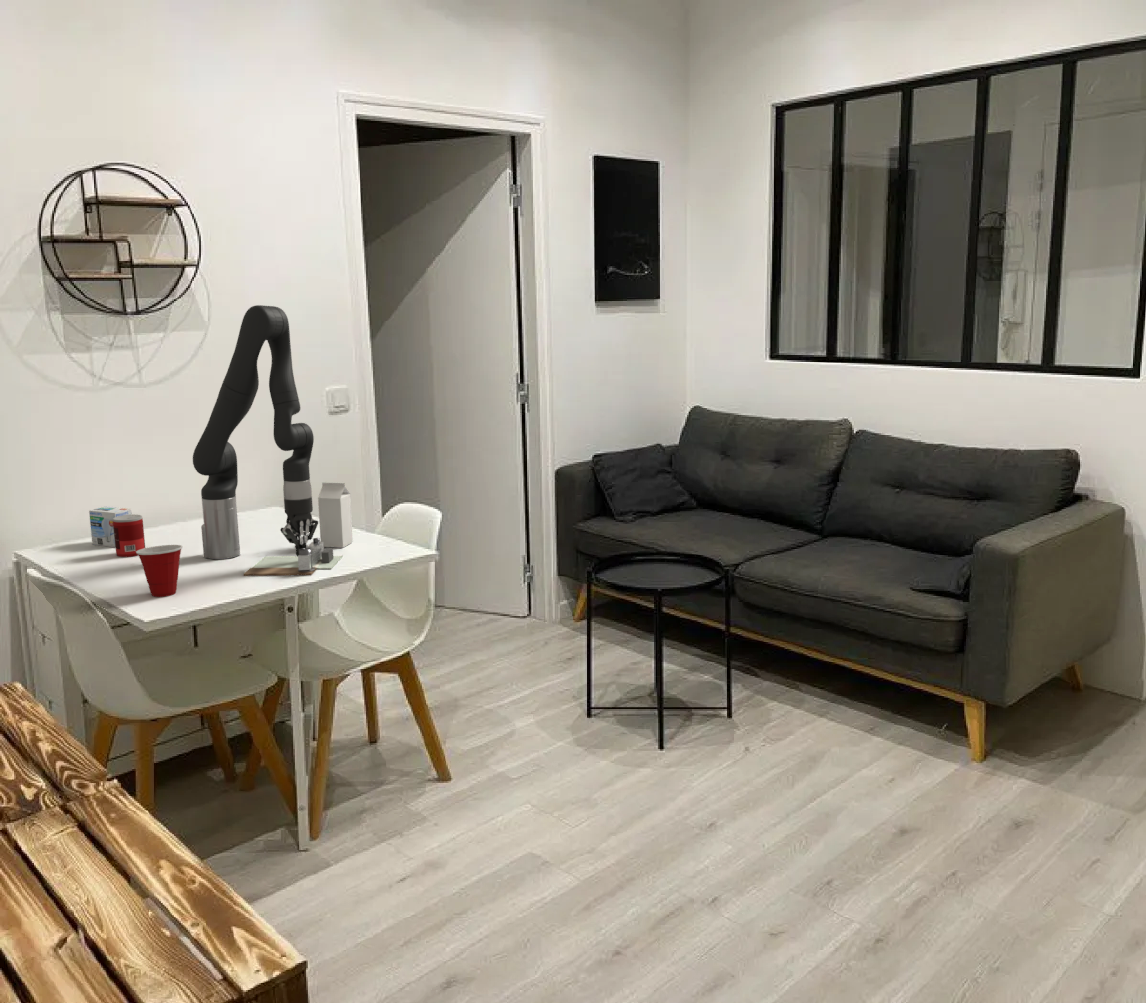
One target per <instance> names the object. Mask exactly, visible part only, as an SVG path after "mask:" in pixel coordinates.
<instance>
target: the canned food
mask: <svg viewBox="0 0 1146 1003" xmlns="http://www.w3.org/2000/svg"><path fill="white" fill-rule="evenodd" d="M113 529H114V539H115V547H114V548H115V554H116V556H117V557H118V558H131V557H139V556H138V554H137V553H136V551H138V550H140V549H144V548H146V540H145V530H144V529H145V528H144V521H143V515H141V514H132V515H123V516H118V517H115V518H113Z"/></svg>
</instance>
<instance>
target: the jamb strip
mask: <svg viewBox="0 0 1146 1003" xmlns="http://www.w3.org/2000/svg"><path fill="white" fill-rule="evenodd" d="M317 570H318V569H317V567H312V569H311V570H299V567H295V568H252V567H250V568H249V569H247V570H245V572H244V573H243V577H258V576H259V577H266V576H267V577H269V576H271V577H272V576H273V577H274V576H277V577H278V576H283V577H284V576H285V577H286V576H288V577H289V576H291V575H294V576H313V574H314V573H315V572H316V571H317Z"/></svg>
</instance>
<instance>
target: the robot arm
mask: <svg viewBox="0 0 1146 1003" xmlns="http://www.w3.org/2000/svg"><path fill="white" fill-rule="evenodd" d="M290 333H291V332H290V323H289V319H288V316H287V314H286V312H285V311H284V309H282V308H280V307H278V306H274V305H273V306H272V305H260V304H258V305H252V306H250V307H249V308H248V309H247V310H246V312H245V313H244V315H243V318H242V320H241V324H240V328H239V332H238V336H237V341H236V344H235V347H234V351H233V354H232V357H231V360H230V363H229V365H228V368H227V372H226V374H225V375H224V379H223V381H222V383H221V387H220V389H219V392H218V395H217V398H216V400H215V403H214V406H213V408H212V410H211V414H210V417H209V418H208V422H207V424H206V427H205V428H204V430H203V433H202V434H201V436H200V438H199V440H198V442H197V444H196V446H195V448H194V450H193V454H192V465H193V468H194V470H195V471H196V472H197V473H198V474H200V475H201V476H206V477H207V476H208V477H207V481H206V483H205V484H204V485H203V486H202V488H201V491H200V495H201V496H200V497H201V504H202V505H201V506H202V507H201V508H202V516H203V523H202V525H201V539H202V549H203V559H211V560H224V559H225V560H227V559H231V558H234V557H239V556H240V555H241V546H240V545H241V544H240V534H239V522H238V506H237V494H236V491H237V487H238V481H239V480H238V478H239V477H238V457H237V452H236V448H234V446H233V445H232V444H231V443H230V442H229V439H230V438H231V435H232V434H233V432H234V431H235V429H236V428H237V427H238V426H239V424H240V423H241V422H242V420H243V419H244V418H246V416H247V415H248V413H249V412H250V409H251V408H252V405H253V403H254V400H255V398H256V396H257V393H258V390H259V382H260V380H259V372H258V361H259V360H258V359H259V356H260V352H261V351H262V348H263V346H264V343H265V341H267V344H268V346H269V350H270V353H271V354H270V355H271V367H270V372H269V378H268V379H269V380H268V388H269V393H270V394H269V395H270V399H271V402H272V404H271V405H272V407H273V440H274V442H275V444H276V446H277V447H278V448H279V449H280V450H281V451H285V452H290V451H292V454H291V456H290V457H288V458H287V459H285V460H284V461H283V462H282V475H283V476H282V477H283V488H282V492H283V506H284V507H283V508H284V513H285V514H286V524H285V525H284V527H280V532H281V533H282V535H283V536H284V537H285V538H286V540H287V541H288V542H289V544H294V546H295V554H296V556H297V557H298V555H299V549H302V548H306V547H307V546H308V545H307V544H308V542H309V541H311V540H313V537H314V534H315V532H316V530H317V527H318V525H319V520H316V519H314V518H313V515H312V512H313V508H314V507H313V494H312V492H313V491H312V485H311V483H312V482H311V476H310V475H311V474H310V462H311V458H312V454H313V453H312V451H313V447H314V439H315V436H314V432H313V430H312V428H311V427H310V426H309V424H307V423H306V422H297V423H292V418H293V416H295V415H297V414H298V413H300V412H301V404H300V399H299V394H298V389H297V386H296V382H295V376H294V369H293V360H292V348H291V347H292V346H291V334H290Z"/></svg>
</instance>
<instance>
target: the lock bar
mask: <svg viewBox="0 0 1146 1003" xmlns="http://www.w3.org/2000/svg"><path fill="white" fill-rule="evenodd" d="M306 546H307V547H306V548H302V549H299V555H298V565H299V570H311V569H312V567H313V566H314V565H315V564H316V563H317V562H318V561H319V560H320V559H321V558H322V555H321V552H322V551H323V550H324V549H325V547H324V545H323V541H321V539H320V537H314V538H313V537H312V542H310V543H309V544H308V545H306Z"/></svg>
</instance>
